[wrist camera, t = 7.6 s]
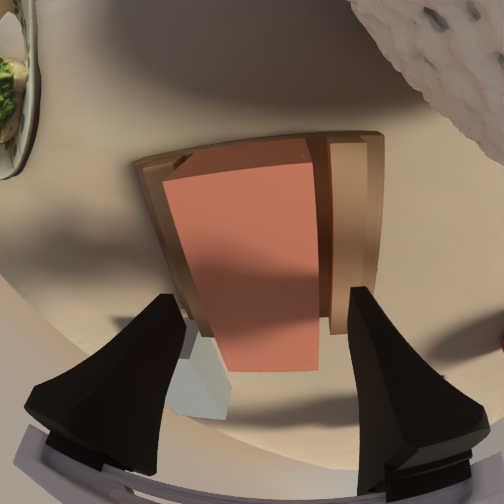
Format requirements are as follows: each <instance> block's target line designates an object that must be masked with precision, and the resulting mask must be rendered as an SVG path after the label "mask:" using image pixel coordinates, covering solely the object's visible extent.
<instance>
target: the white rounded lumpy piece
mask: <svg viewBox="0 0 504 504" xmlns="http://www.w3.org/2000/svg"><path fill="white" fill-rule="evenodd" d="M347 1H349V2H351V9H352V10H353V13H354V14H355V15H356V17H357V18H358V19H359V21H360V22H361V23H362V24H363V26H364V27H365V28H366V30H367V31H368V33H369V34H370V35H371V37H372V38H373V39H374V40H375V41H376V44H377V46H378V48H379V50H380V51H381V52H382V54H383V56H384V57H385V58H386V59H387V60H388V61H390V62H391V63H392V65H393V67H394V69H395V70H396V71H398V72H401V73H402V75H403V77H404V79H405V80H406V81H407V82H408V84H409V85H410V86H412V88H413V89H415V90H417V91H420V92H422V94H423V98H424V100H425V101H427V102H429V103H430V105H431V106H432V107H434V109H435V110H436V111H438V112H440V113H441V115H442V116H444V117H447V118H449V119H450V121H451V122H452V123H453V125H454V126H456V127H457V128H458V129H459V131H460V132H462V133H464V134H465V136H466V138H469V139H471V140H473V141H475V142H476V144H478V145H479V148H481V150H482V151H483V152H484V153H485V155H486V156H487V157H489V158H490V159H492V160H494V161H497V162H499V163H500V164H502V165H504V0H347ZM303 157H304V156H303Z"/></svg>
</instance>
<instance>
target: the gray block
mask: <svg viewBox="0 0 504 504" xmlns="http://www.w3.org/2000/svg"><path fill="white" fill-rule="evenodd" d="M183 319H184V321H185V324H186V326H187V328H186V334H185V339H184V343H183V348H182V351H181V354H180V357H179V359H178V362H177V365H176V368H175V371H174V374H173V377H172V379H171V382H170V385H169V388H168V391H167V395H166V399H165V403H166V404H167V405H168V406H169V407H170V408H171V410H172V411H173V412H174V413H175V414H177V415H183V416H191V417H199V418H208V419H219V420H226V415H227V409H228V404H229V399H230V393H231V388H232V386H231V384H230V382H229V380H228V377H227V375H226V373H225V371H224V368H223V366H222V364H221V362H220V359H219V357H218V355H217V352H216V350H215V347H214V345H213V343H212V340H211V338H210V337H201V334H200V332H199V330H198V327H197V325H196V322H195V320H190V319H189V318H183Z"/></svg>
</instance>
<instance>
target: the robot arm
mask: <svg viewBox="0 0 504 504" xmlns="http://www.w3.org/2000/svg"><path fill="white" fill-rule="evenodd" d="M186 328H187V326H186V324H185V321H184V319H183V317H182V315H181V312H180V310H179V307H178V305H177V303H176V300H175V298H174V295H173V294H160V295H159V296H157V297H156V298H155V299H154V300H153V301H152V302H151V303H150V304H149V305H148V306H147V307H146V308H145V309H144V310H143V311H142V312H141V313H140V314H139V315H138V316H137V317H135V318H134V319H133V320H132V321H131V322H130V323H129V324H128V325H127V326H126V327H125V328H124V329H123V330H122V331H121V332H120V333H118V334H117V335H116V336H115V337H114V338H113V339H112V340H111V341H110V342H108V343H107V344H106V345H105V346H103V347H102V348H101V349H100V350H98V351H97V352H96V353H94V354H93V355H92V356H90V357H89V358H87V359H86V360H84V361H83V362H81V363H80V364H78V365H77V366H75V367H73V368H72V369H70V370H68V371H67V372H65V373H63V374H61V375H59V376H57V377H55V378H53V379H51V380H48V381H46V382H43V383H41V384H39V385H36V386H34V388H33V390H32V392H31V394H30V396H29V398H28V399H27V402H26V404H25V405H24V408H25V410H26V411H27V412H28V413H29V414H30V415H31V416H32V417H33V418H34V419H36V420H37V421H38V422H40V423H41V424H42V425H43V426H45V427H46V428H47V429H49V430H50V433H49V435H47V434H46V433H44V432H43V431H41V430H39V429H37V428H36V427H34V426H32V425H31V424H30V425H29V426H28V428H27V430H26V432H25V434H24V437H23V439H22V441H21V444H20V446H19V448H18V450H17V453H16V455H15V458H14V460H13V463H14V465H15V466H17V467H18V468H19V469H21V470H22V471H23V472H24V473H26V474H27V475H28V476H29V477H31V478H32V479H33V480H34V481H35V482H36V483H38V484H39V485H40V486H41V487H42V488H44V489H45V490H46V491H47V492H48V493H50V494H51V495H52V496H54V497H55V498H56V499H57V500H59V501H60V502H61V503H63V504H160V503H156V502H154V501H150V500H148V499H145V498H142V497H139V496H136V495H135V494H134V491H133V490H132V489H134V490H136V491H139V492H142V493H145V494H149V495H152V496H155V497H159V498H162V499H166V500H169V501H173V502H177V503H181V504H504V459H503V455H502V452H499V453H497V454H494V455H492V456H490V457H488V458H486V459H483V460H481V461H479V462H476V463H474V464H472V465H470V463H469V459H471V458H472V450H471V448H473V447H474V446H476V445H477V444H478V443H479V442H481V441H482V440H483V439H484V438H486V437H487V436H488V434H489V432H490V431H491V430H490V426H489V422H488V418H487V414H486V412H485V409H484V407H483V406H482V405H480V404H479V403H477V402H476V401H474V400H472V399H471V398H469V397H468V396H466V395H465V394H463V393H462V392H460V391H459V390H458V389H456V388H455V387H454V386H452V385H451V384H450V383H449V382H448V381H447V377H442V376H441V375H439V374H438V373H437V372H436V371H435V370H434V369H433V368H432V367H431V366H429V365H428V364H427V363H426V362H425V361H424V360H423V359H422V358H421V357H420V355H419V354H418V353H417V352H416V351H415V350H414V349H413V348H412V347H411V346H410V345H409V343H408V342H407V341H406V340H405V339H404V337H403V336H402V335H401V334H400V333H399V331H398V330H397V329H396V328H395V326H394V325H393V324H392V322H391V321H390V320H389V318H388V317H387V316H386V314H385V313H384V311H383V310H382V309H381V307H380V306H379V304H378V303H377V301H376V300H375V298H374V297H373V295H372V294H371V292H370V291H369V289H368V288H367V287H366V286H358V287H350V297H349V308H348V317H347V331H348V342H349V349H350V354H351V360H352V365H353V370H354V375H355V381H356V387H357V392H358V401H359V421H360V453H359V474H358V486H357V496H355V497H346V498H335V499H318V500H272V499H256V498H244V497H235V496H227V495H220V494H213V493H207V492H202V491H196V490H191V489H187V488H182V487H178V486H173V485H169V484H165V483H162V482H158V481H154V480H151V479H147V478H144V477H141V476H138V475H135V474H131V473H129V472H126V471H125V470H127V471H130V472H133V471H134V472H137V473H141V474H144V475H147V476H152V475H154V474H156V473H157V450H158V440H159V431H160V425H161V419H162V413H163V408H164V403H165V399H166V395H167V391H168V388H169V385H170V382H171V379H172V377H173V374H174V371H175V368H176V365H177V362H178V359H179V357H180V354H181V351H182V348H183V343H184V339H185V334H186ZM130 488H131V489H130Z"/></svg>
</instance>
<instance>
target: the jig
mask: <svg viewBox="0 0 504 504" xmlns="http://www.w3.org/2000/svg"><path fill="white" fill-rule="evenodd" d="M298 138H305V140H306V143H307V146H308V150H309V153H310V156H311V160H312V164H313V176H314V189H315V203H316V219H317V239H318V266H319V318H320V317H328V318H329V328H330V335H337V334H348V331H347V317H348V308H349V297H350V287H358V286H366V287H367V288H368V289H369V291H370V292H371V294H372V295H373V294H374V287H375V280H376V273H377V265H378V257H379V248H380V238H381V227H382V213H383V196H384V161H385V148H384V135H383V134H381V133H380V132H378V131H359V132H326V133H308V134H294V135H282V136H272V137H263V138H254V139H246V140H238V141H231V142H224V143H218V144H211V145H205V146H199V147H194V148H188V149H183V150H178V151H173V152H168V153H163V154H159V155H154V156H150V157H145V158H143V159H141V160H140V161H138V162H137V163H135V166H136V169H137V173H138V176H139V180H140V183H141V186H142V190H143V193H144V196H145V199H146V202H147V206H148V209H149V212H150V215H151V218H152V221H153V224H154V227H155V230H156V233H157V236H158V239H159V242H160V244H161V247H162V250H163V253H164V256H165V258H166V261H167V264H168V266H169V269H170V272H171V274H172V277H173V280H174V282H175V285H176V287H177V290H178V293H179V295H180V298H181V300H182V302H183V305H184V307H185V310H186V312H187V315H188V317H189V319H190V320H195V322H196V325H197V327H198V330H199V332H200V334H201V337H214V334H213V332H212V329H211V327H210V324H209V321H208V319H207V316H206V313H205V311H204V308H203V305H202V303H201V300H200V297H199V294H198V292H197V289H196V286H195V283H194V280H193V277H192V275H191V272H190V269H189V266H188V263H187V260H186V257H185V254H184V251H183V248H182V245H181V242H180V239H179V236H178V233H177V229H176V226H175V223H174V220H173V217H172V213H171V210H170V207H169V203H168V200H167V197H166V193H165V190H164V186H163V183H162V182H163V181H164V180H165V179H166V178H167V177H168V176H169V175H170V174H171V173H172V172H174V171H175V170H176V169H177V168H178V167H179V166H180V165H181V164H183V163H184V162H185V161H186V160H187V159H188V158H189V157H191V156H192V155H193V154H194V153H195V152H199V151H205V150H211V149H217V148H223V147H229V146H236V145H243V144H251V143H259V142H267V141H276V140H287V139H298Z"/></svg>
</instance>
